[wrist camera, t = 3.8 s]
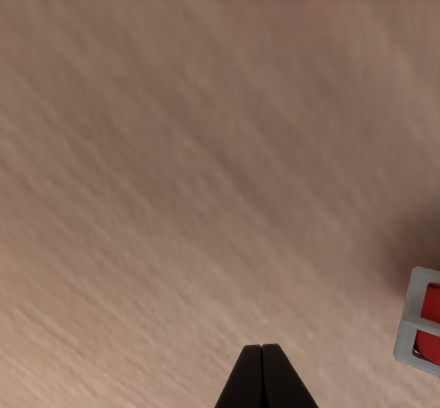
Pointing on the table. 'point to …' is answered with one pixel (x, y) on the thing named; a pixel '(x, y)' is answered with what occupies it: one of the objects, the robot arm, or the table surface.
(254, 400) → the robot arm
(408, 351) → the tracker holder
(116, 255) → the table surface
